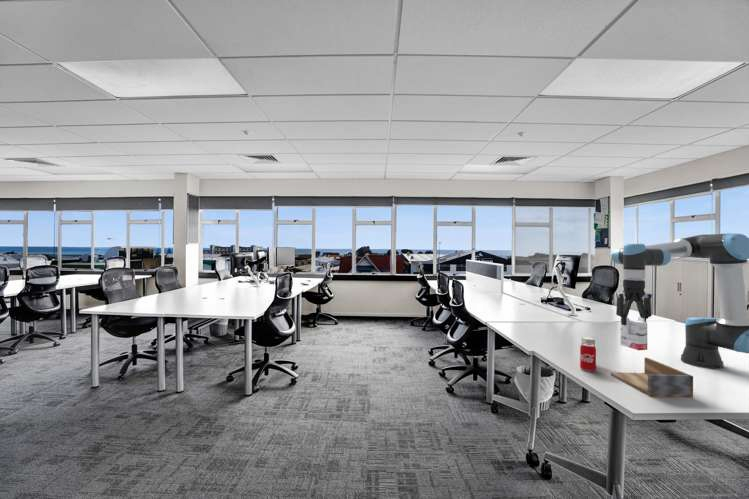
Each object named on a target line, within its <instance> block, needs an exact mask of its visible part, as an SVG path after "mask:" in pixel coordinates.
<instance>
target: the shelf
mask: <svg viewBox="0 0 749 499" xmlns="http://www.w3.org/2000/svg"><path fill="white" fill-rule="evenodd" d="M643 370H644V372H613V371H611V372H610V376H612V377H613V378H616V379H617V380H618V381H619V380H620V382H623V383H625V384H626V385H628V386H630V387H632V388H633V389H635V390H637V391H638V392H640V393H642V394H645V395H646V396H648V397H650V398H651V397H653V398H657V397H658V398H685V399H687V398H692V399H693V398H694V375H691V374H689V373H687V372H684V371H682V370H679V369H676V368H674V367H672V366H669V365H666V364H664V363H662V362H659V361H656V360H654V359H652V358H649V357H644V369H643Z"/></svg>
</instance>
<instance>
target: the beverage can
mask: <svg viewBox="0 0 749 499" xmlns="http://www.w3.org/2000/svg"><path fill="white" fill-rule="evenodd" d="M579 350H580V351H579V367H580V369H582V371H585V372H590V373H591V372H595V371H596V370H597V348H596V344H595V345H593V344H590V343H582V342H581V345H580V346H579Z"/></svg>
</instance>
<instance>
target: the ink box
mask: <svg viewBox="0 0 749 499" xmlns="http://www.w3.org/2000/svg"><path fill="white" fill-rule="evenodd" d="M619 331H620V341H619V343H620V346H623V347H625V348H626V347H627V348H631V349H633V350H635V351H636V350H637V351H648V322H647V321H646V322H642V321H638V319H637V320H636V319H631V318H629V334H628V333H624V332H623V325H622V324H621V323H620V330H619Z"/></svg>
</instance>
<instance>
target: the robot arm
mask: <svg viewBox="0 0 749 499" xmlns="http://www.w3.org/2000/svg"><path fill="white" fill-rule="evenodd" d="M673 258H678V259H689V258H691V259H705V260H709V264H710V265H711V266H713V267H714V269H715V271H714V272H715V280H716V288H717V298H718V307H719V313H720V314H719V318H716V317H707V316H706V317H704V316H699V317H698V316H696V317H695V316H694V317H693V316H692V317H691V316H690V317H687V318H686V320H685V325H684V326H685V327H684V329H685V347H684V348H683V352H682V354H681V355H680V361H681V362H683V363H685V364H688V365H690V366H691V365H692V366H696V367H700V368H705V369H706V368H707V369H715V370H716V369H718V370H719V369H723V368H724V365H725V364H724V360H722V356H721V353H720V351H719V348H722V349H725V350H731V351H734V352H736V353H743V354H749V315H748V306H747V304H748V303H747V296H746V287H745V277H744V268H743V267H744V266H745V265H746V264H747V263H748V260H749V237H748V236H747V235H745V234H743V233H732V232H731V233H730V232H729V233H714V234H712V233H711V234H699V235H693V236H689V237H688V236H687V237H683V238H677V239H675V240H673V241H670V242H663V243H658V244H657V243H655V244H649V245H646V244H644V243H625V244H624V245H623V248H616V249H614V250H613V251H612V253H611V260H612V262H613V263H614V264H616V265H617V264H618V265H622V266H623V267H622V268H623V269H622V271H623V272H622V277H623V280H622V287H623V290H622V292H616V294H615V296H616V299H617V300H616V312H615V315H616V316H619V317H620V325H621V324H622V325H623V332H624V333H628V334H629V319H630V318H629V317H628V316H629V312H630V309H631V307H632V304H633V302H635V305H636V307H637V311H638V314H639V316H638V317H637V321H642V322H647V319H649V318H651V317H652V300H651V299H652V296H653V294H652V293H647V292H645V289H646V281H645V279H646V266H649V267H650V266H651V267H652V266H653V267H655V266H656V267H661V266H666V265H668V264H669V263H670V262H671V260H672V259H673Z"/></svg>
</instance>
